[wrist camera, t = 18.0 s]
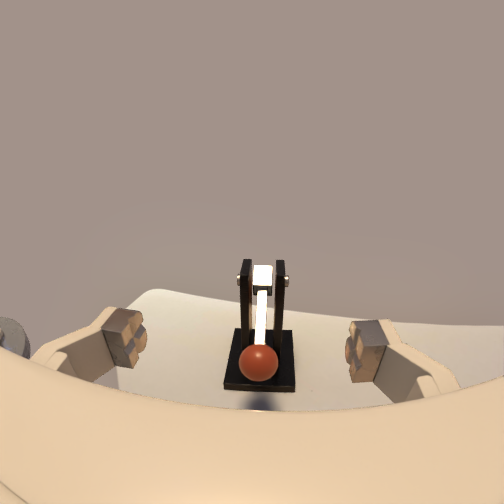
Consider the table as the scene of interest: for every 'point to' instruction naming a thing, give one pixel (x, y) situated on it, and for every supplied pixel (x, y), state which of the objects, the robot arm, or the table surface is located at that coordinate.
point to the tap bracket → (273, 338)
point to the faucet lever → (260, 331)
